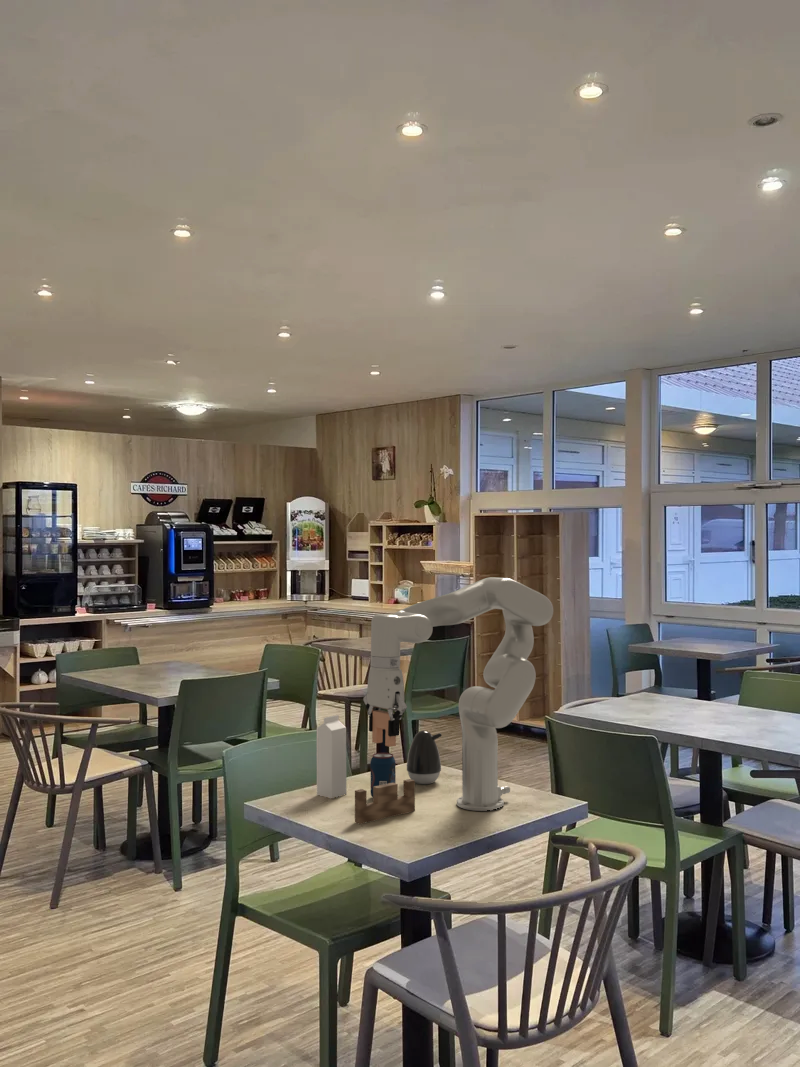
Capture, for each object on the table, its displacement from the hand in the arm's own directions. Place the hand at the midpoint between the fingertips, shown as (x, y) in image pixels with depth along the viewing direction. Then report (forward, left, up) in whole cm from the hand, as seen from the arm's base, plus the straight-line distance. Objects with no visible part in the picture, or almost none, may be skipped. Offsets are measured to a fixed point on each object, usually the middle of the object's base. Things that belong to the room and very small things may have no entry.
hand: (383, 732), depth 231 cm
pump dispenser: (-33, -23, -23) cm, 46 cm away
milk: (-4, -29, -23) cm, 37 cm away
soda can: (-13, -17, -23) cm, 31 cm away
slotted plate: (0, 0, -3) cm, 3 cm away
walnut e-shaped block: (-3, -3, -22) cm, 23 cm away
